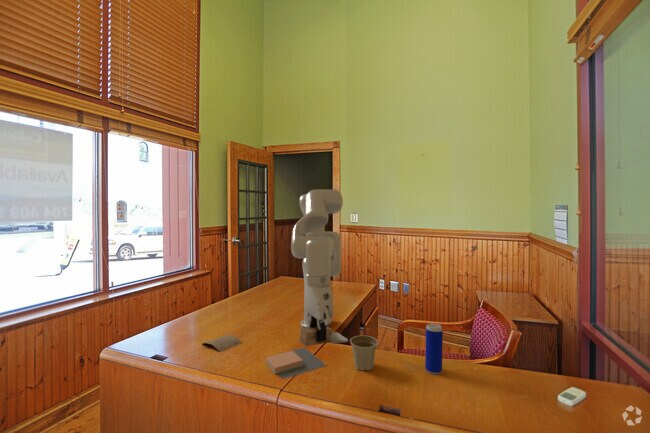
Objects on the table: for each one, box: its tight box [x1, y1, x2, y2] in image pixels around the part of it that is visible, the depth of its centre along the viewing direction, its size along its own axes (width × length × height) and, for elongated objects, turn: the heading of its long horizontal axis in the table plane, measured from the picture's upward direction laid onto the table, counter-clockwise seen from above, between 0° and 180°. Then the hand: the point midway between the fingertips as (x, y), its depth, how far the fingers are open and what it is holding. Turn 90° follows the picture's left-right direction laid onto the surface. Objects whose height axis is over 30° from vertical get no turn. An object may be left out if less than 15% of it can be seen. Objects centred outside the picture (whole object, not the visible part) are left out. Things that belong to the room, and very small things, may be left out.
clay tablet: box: [202, 333, 243, 353], centre depth 121 cm, size 14×10×3 cm
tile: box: [265, 350, 303, 375], centre depth 105 cm, size 10×2×8 cm
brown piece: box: [299, 325, 349, 347], centre depth 97 cm, size 14×6×4 cm, turn 122°
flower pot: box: [349, 335, 379, 371], centre depth 105 cm, size 9×9×9 cm
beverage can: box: [424, 322, 444, 375], centre depth 103 cm, size 5×5×15 cm
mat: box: [264, 346, 327, 380], centre depth 108 cm, size 16×16×1 cm
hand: (317, 337), depth 96 cm, fingers closed on brown piece, 3 cm apart
